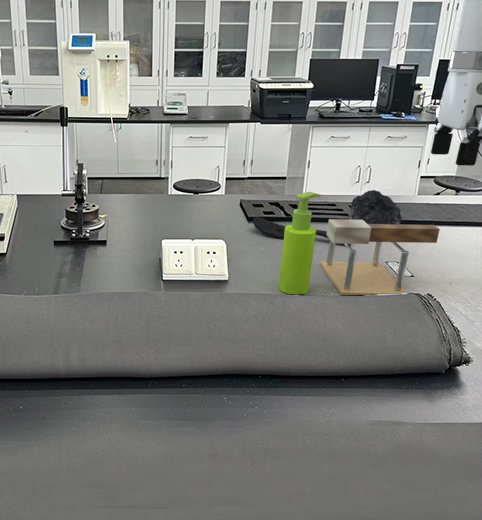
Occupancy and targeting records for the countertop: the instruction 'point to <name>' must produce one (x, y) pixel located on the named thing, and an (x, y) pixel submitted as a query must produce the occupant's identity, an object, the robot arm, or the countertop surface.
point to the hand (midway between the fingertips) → (451, 159)
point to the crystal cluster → (375, 209)
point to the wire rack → (364, 273)
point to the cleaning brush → (379, 232)
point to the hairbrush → (277, 228)
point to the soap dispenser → (298, 249)
